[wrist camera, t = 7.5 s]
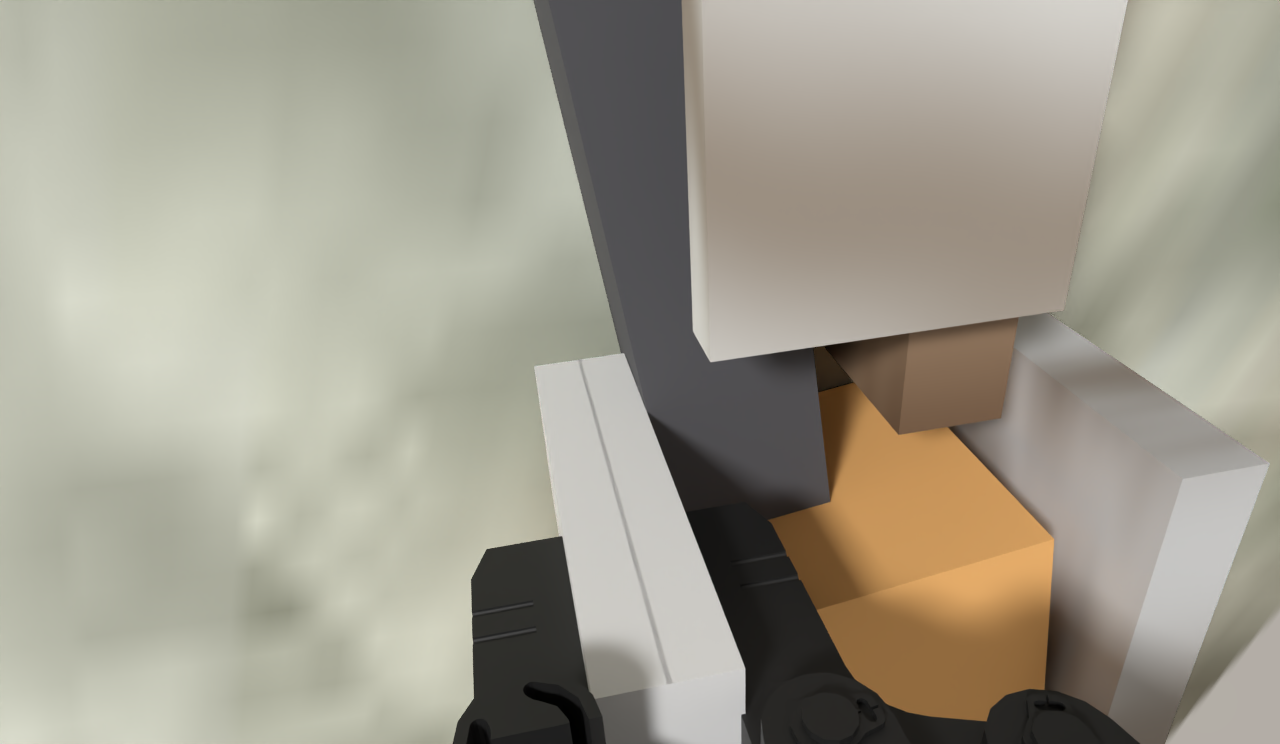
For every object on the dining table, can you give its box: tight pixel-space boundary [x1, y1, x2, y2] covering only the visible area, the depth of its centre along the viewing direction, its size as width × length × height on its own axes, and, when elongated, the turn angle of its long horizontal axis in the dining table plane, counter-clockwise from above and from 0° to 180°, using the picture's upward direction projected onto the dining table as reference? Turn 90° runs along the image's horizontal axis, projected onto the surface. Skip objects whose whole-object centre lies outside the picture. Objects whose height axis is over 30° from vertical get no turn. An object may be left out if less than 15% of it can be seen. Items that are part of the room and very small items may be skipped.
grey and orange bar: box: [534, 0, 1054, 721], centre depth 11 cm, size 19×5×5 cm, turn 12°
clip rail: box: [682, 0, 1270, 744], centre depth 12 cm, size 22×7×6 cm, turn 4°
